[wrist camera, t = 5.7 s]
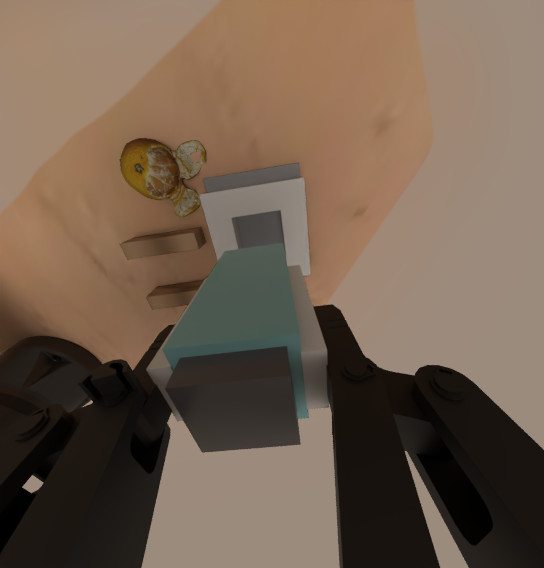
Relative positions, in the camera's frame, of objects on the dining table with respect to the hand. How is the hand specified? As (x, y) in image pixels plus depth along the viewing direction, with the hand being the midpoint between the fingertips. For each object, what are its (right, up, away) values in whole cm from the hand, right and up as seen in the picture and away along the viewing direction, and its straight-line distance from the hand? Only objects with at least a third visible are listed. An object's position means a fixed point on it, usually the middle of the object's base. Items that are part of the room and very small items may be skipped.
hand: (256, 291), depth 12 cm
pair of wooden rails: (-12, +3, +16) cm, 21 cm away
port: (0, +7, +14) cm, 16 cm away
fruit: (-11, +13, +12) cm, 20 cm away
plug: (0, +1, +2) cm, 3 cm away
